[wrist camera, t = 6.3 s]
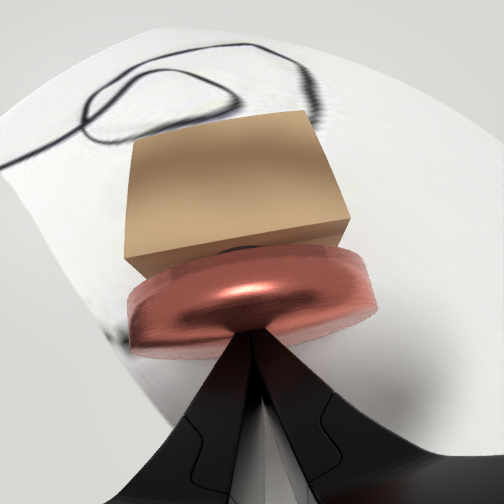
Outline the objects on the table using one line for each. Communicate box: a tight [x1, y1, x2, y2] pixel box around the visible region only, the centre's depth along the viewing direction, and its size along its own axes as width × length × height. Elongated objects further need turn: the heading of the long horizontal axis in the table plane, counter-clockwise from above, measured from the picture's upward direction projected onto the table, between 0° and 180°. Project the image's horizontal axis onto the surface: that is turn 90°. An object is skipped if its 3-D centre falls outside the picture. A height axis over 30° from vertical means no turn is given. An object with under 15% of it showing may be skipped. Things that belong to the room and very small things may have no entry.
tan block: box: [124, 110, 351, 279], centre depth 14 cm, size 6×8×7 cm
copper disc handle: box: [127, 244, 378, 359], centre depth 12 cm, size 11×9×9 cm
